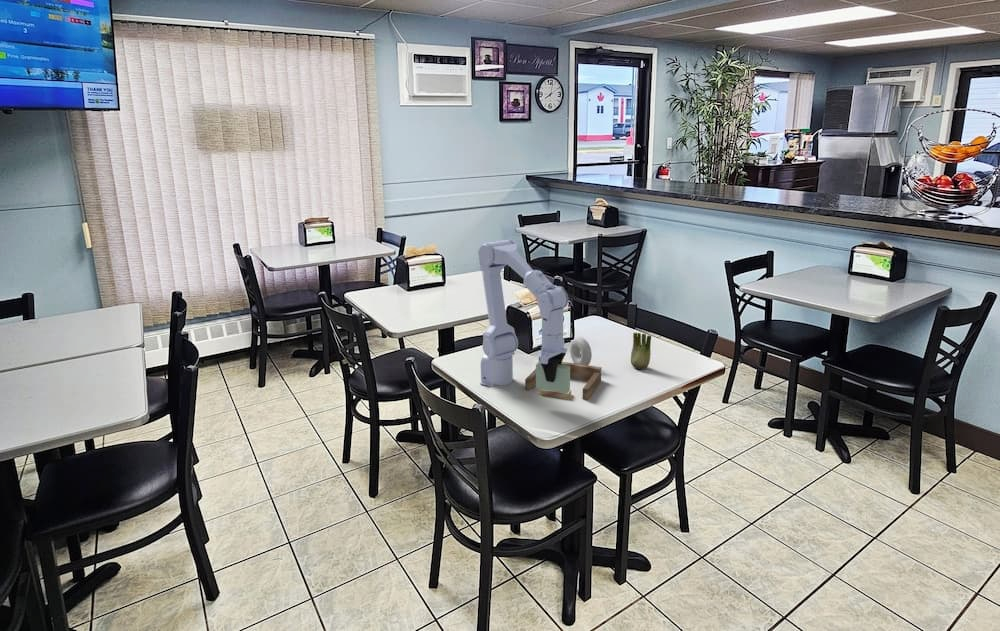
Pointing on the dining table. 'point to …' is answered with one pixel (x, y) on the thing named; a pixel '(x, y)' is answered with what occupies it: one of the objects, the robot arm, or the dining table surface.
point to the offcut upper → (556, 393)
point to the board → (560, 380)
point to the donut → (585, 349)
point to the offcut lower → (559, 397)
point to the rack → (575, 372)
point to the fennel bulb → (641, 351)
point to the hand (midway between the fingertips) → (552, 379)
